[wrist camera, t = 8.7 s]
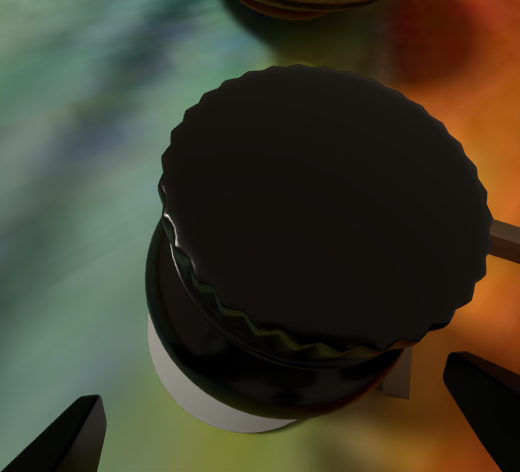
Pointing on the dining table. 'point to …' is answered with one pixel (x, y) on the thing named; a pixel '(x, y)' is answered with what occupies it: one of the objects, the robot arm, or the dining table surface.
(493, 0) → the dining table surface
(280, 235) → the supplement bottle
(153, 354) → the coaster
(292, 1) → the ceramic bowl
